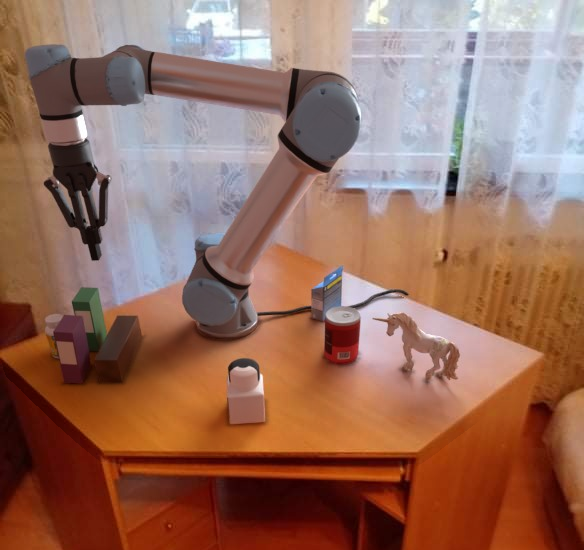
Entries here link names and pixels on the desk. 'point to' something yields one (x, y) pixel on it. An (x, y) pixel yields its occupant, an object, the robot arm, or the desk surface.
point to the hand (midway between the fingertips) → (96, 257)
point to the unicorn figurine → (424, 345)
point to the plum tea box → (72, 348)
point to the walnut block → (118, 349)
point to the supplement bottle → (51, 325)
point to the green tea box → (91, 316)
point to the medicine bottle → (245, 392)
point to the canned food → (342, 334)
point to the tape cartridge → (326, 295)
